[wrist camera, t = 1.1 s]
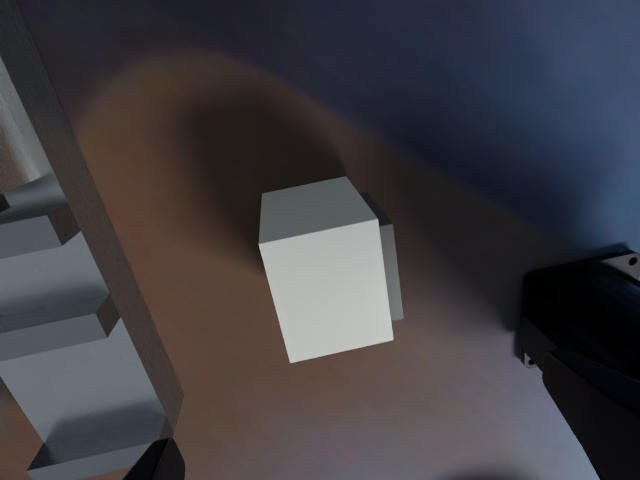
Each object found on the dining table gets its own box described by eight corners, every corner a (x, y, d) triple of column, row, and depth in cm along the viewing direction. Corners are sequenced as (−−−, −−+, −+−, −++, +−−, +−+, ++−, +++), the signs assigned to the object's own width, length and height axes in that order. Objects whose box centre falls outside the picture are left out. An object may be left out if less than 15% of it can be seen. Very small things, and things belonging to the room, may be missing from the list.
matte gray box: (261, 193, 18) (258, 244, 13) (358, 173, 18) (395, 215, 13) (284, 285, 20) (290, 363, 15) (371, 266, 20) (408, 336, 15)
